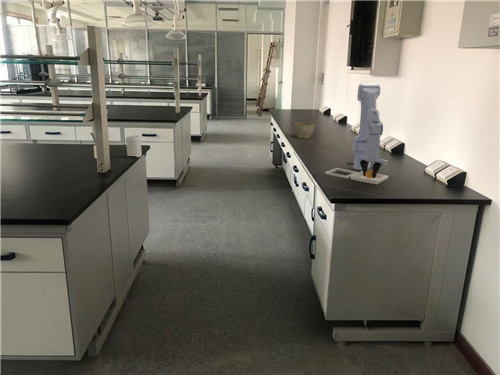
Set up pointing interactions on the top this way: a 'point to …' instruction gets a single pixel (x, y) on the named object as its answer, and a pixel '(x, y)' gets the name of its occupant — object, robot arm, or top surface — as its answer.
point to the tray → (342, 171)
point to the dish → (376, 180)
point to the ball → (369, 174)
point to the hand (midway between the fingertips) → (369, 176)
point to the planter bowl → (304, 129)
